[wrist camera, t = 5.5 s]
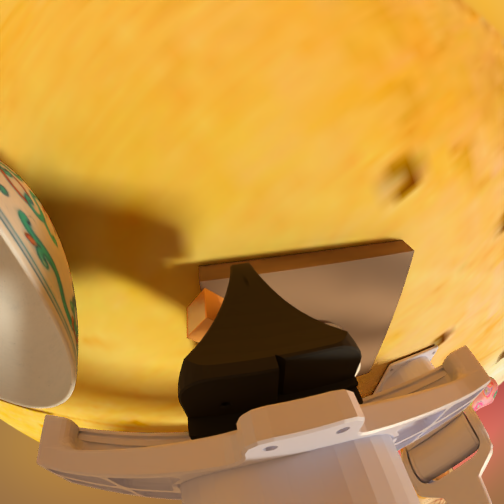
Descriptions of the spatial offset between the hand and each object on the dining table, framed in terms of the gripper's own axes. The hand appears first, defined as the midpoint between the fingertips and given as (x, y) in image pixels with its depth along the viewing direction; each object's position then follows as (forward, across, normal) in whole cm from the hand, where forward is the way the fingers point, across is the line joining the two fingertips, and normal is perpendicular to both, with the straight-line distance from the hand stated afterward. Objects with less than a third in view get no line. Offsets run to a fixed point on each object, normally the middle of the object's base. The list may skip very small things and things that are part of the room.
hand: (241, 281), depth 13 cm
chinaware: (+3, +14, -3) cm, 15 cm away
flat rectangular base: (+3, -5, +8) cm, 10 cm away
